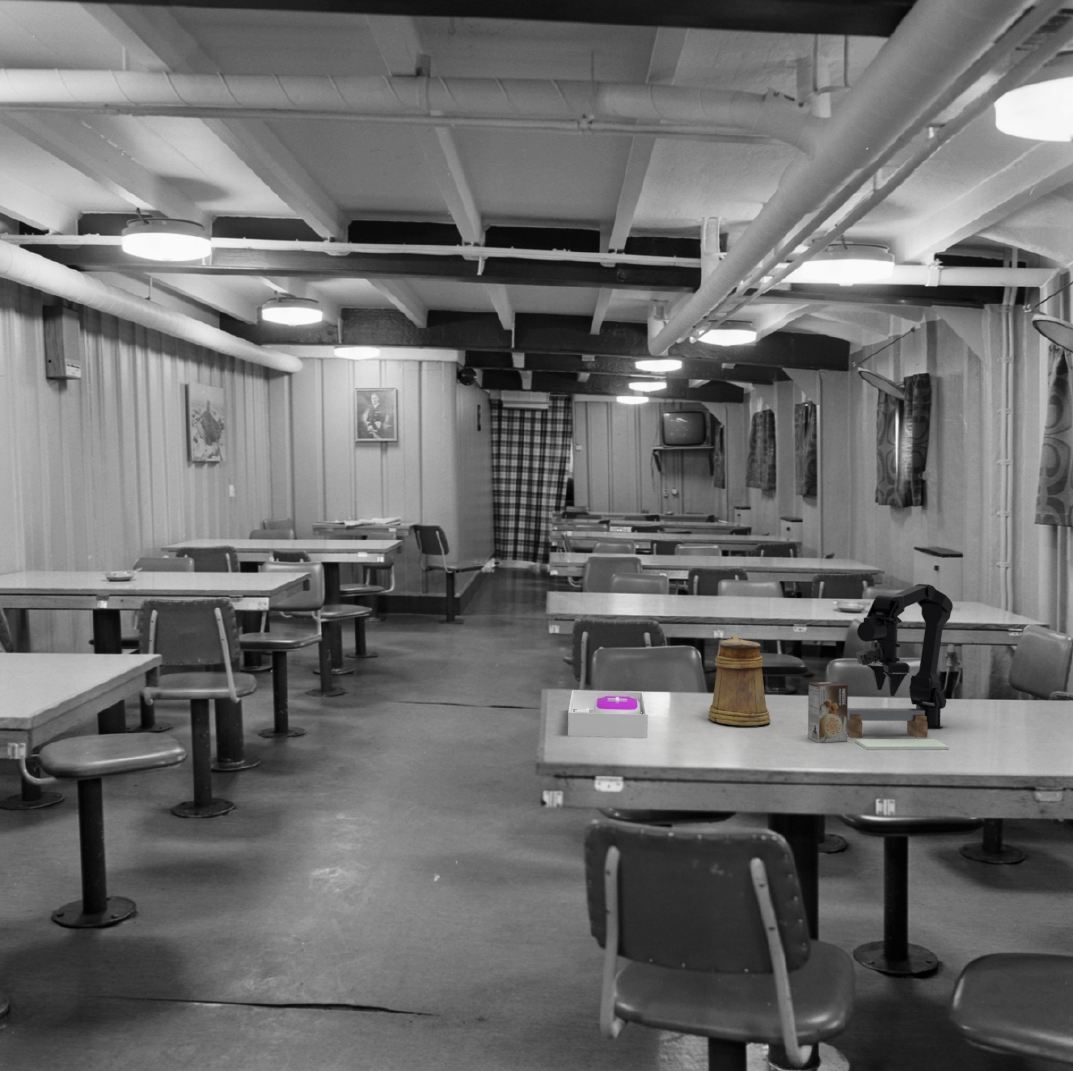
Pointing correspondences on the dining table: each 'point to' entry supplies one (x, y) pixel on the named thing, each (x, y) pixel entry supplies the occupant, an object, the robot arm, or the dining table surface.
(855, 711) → the rail
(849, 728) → the post
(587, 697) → the light grey open box
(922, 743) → the pad
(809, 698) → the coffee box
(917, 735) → the post
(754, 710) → the tankard
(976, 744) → the dining table surface
